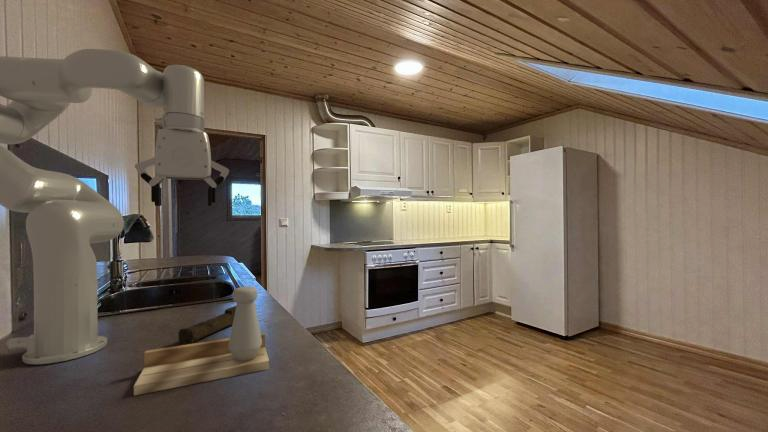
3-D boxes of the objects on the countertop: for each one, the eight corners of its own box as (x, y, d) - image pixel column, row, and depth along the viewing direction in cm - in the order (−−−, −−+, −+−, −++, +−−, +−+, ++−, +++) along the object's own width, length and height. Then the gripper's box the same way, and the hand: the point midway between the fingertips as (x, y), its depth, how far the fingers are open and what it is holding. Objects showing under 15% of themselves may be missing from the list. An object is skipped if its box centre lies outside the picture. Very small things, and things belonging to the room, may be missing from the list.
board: (133, 395, 51) (133, 369, 51) (148, 369, 60) (148, 347, 60) (269, 368, 59) (268, 346, 59) (263, 349, 68) (263, 330, 68)
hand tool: (191, 348, 70) (191, 326, 70) (177, 345, 72) (177, 324, 72) (252, 321, 88) (252, 304, 88) (240, 320, 89) (240, 303, 90)
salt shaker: (228, 366, 57) (227, 292, 57) (228, 354, 62) (227, 286, 62) (263, 359, 60) (263, 288, 60) (260, 348, 65) (260, 283, 65)
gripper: (130, 116, 63) (130, 205, 63) (228, 126, 71) (229, 205, 71) (139, 126, 70) (140, 206, 70) (228, 134, 77) (229, 206, 77)
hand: (184, 205), depth 70 cm, fingers open, 9 cm apart
